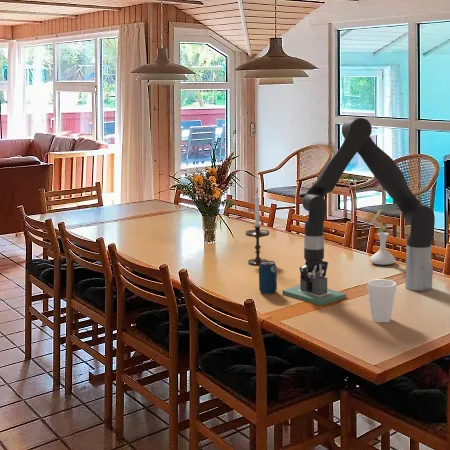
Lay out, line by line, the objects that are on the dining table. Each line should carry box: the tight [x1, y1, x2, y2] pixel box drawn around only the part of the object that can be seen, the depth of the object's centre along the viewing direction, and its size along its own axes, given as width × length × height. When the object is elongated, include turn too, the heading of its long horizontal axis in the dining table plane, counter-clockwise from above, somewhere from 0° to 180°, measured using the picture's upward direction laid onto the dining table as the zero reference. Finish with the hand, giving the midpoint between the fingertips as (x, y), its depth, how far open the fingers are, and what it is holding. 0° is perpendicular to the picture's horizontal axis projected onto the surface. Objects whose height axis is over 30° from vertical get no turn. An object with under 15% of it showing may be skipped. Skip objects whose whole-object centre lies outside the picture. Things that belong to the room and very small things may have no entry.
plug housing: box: [299, 273, 328, 296], centre depth 259 cm, size 10×5×6 cm, turn 41°
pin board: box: [282, 285, 347, 307], centre depth 259 cm, size 20×14×6 cm
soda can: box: [258, 260, 278, 295], centre depth 265 cm, size 7×7×12 cm
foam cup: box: [367, 278, 397, 323], centre depth 230 cm, size 10×9×13 cm
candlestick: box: [245, 187, 270, 266], centre depth 306 cm, size 11×11×35 cm
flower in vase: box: [369, 209, 397, 266], centre depth 300 cm, size 13×11×25 cm
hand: (313, 289), depth 259 cm, fingers closed on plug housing, 4 cm apart
